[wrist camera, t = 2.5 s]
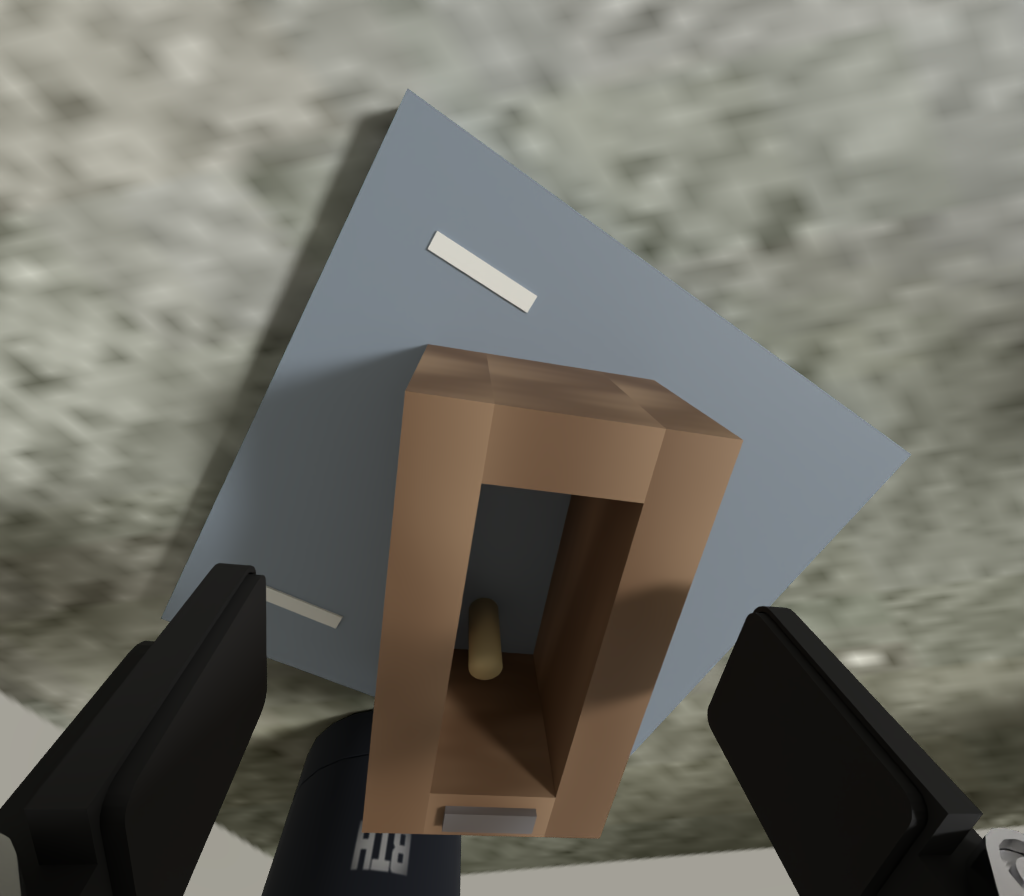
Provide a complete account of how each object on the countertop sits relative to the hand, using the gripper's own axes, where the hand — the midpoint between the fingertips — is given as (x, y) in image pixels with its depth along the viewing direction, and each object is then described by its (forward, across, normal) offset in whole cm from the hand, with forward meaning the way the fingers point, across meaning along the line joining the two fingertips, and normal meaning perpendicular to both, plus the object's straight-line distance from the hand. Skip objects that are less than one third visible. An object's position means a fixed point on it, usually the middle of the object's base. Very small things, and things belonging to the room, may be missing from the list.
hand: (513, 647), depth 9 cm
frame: (+6, -1, +2) cm, 6 cm away
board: (+7, -2, +1) cm, 8 cm away
